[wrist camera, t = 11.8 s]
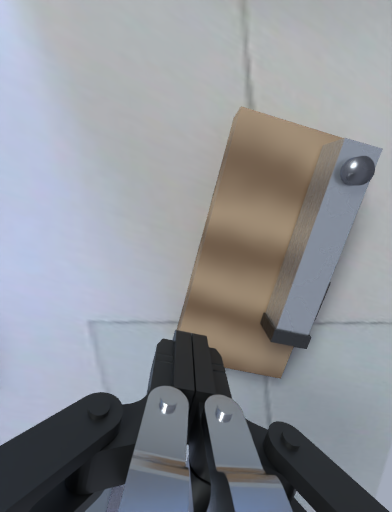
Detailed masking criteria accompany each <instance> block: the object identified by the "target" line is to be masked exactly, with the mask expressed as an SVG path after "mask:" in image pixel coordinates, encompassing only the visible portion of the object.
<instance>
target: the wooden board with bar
mask: <svg viewBox="0 0 392 512" xmlns="http://www.w3.org/2000/svg"><path fill="white" fill-rule="evenodd" d="M340 139H343V138H341V137H338V136H334V135H331V134H328V133H325V132H322V131H318V130H315V129H312V128H309V127H306V126H302V125H299V124H296V123H293V122H289V121H286V120H283V119H280V118H277V117H273V116H270V115H267V114H264V113H261V112H257V111H254V110H251V109H248V108H245V107H240V109H239V110H238V112H237V114H236V115H235V117H234V119H233V123H232V127H231V131H230V134H229V138H228V142H227V145H226V149H225V153H224V157H223V160H222V164H221V168H220V171H219V175H218V179H217V183H216V186H215V190H214V194H213V197H212V201H211V205H210V209H209V212H208V216H207V220H206V223H205V227H204V231H203V234H202V238H201V242H200V246H199V249H198V253H197V257H196V260H195V264H194V268H193V272H192V275H191V279H190V283H189V286H188V290H187V294H186V298H185V301H184V305H183V309H182V312H181V316H180V320H179V324H178V327H177V330H180V331H185V332H190V333H195V334H200V335H205V336H207V340H208V345H209V347H210V348H215V349H216V350H217V351H218V352H219V354H220V355H221V356H222V360H223V364H224V367H225V368H230V369H235V370H240V371H245V372H250V373H255V374H260V375H265V376H270V377H275V378H281V376H282V374H283V371H284V369H285V366H286V364H287V362H288V359H289V357H290V354H291V352H292V349H293V347H294V346H288V345H283V344H278V343H273V342H270V340H269V338H268V337H267V335H266V333H265V331H264V329H263V328H262V326H261V324H260V322H261V319H262V316H263V313H266V310H267V307H268V304H269V301H270V298H271V295H272V292H273V289H274V286H275V284H276V281H277V278H278V275H279V272H280V269H281V266H282V263H283V260H284V257H285V254H286V251H287V248H288V245H289V243H290V240H291V237H292V234H293V231H294V228H295V225H296V222H297V219H298V216H299V213H300V210H301V207H302V205H303V202H304V199H305V196H306V193H307V190H308V187H309V184H310V181H311V178H312V175H313V172H314V169H315V166H316V164H317V161H318V158H319V155H320V152H321V149H322V146H323V145H325V144H328V143H331V142H334V141H337V140H340ZM329 286H330V282H329V284H328V287H327V290H328V288H329ZM327 290H326V292H325V295H326V293H327ZM325 295H324V297H323V300H324V298H325ZM323 300H322V302H323ZM322 302H321V305H322ZM321 305H320V307H321ZM320 307H319V310H320ZM319 310H318V312H319ZM318 312H317V314H318ZM316 317H317V315H316ZM316 317H315V319H316ZM314 321H315V320H314Z"/></svg>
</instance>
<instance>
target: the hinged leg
mask: <svg viewBox="0 0 392 512" xmlns="http://www.w3.org/2000/svg"><path fill="white" fill-rule="evenodd" d="M381 152H382V148H378V147H375V146H371V145H368V144H364V143H361V142H357V141H354V140H351V139H347V138H343V139H340V140H337V141H334V142H331V143H328V144H325V145H323V146H322V149H321V152H320V155H319V158H318V161H317V164H316V166H315V169H314V172H313V175H312V178H311V181H310V184H309V187H308V190H307V193H306V196H305V199H304V202H303V205H302V207H301V210H300V213H299V216H298V219H297V222H296V225H295V228H294V231H293V234H292V237H291V240H290V243H289V245H288V248H287V251H286V254H285V257H284V260H283V263H282V266H281V269H280V272H279V275H278V278H277V281H276V284H275V286H274V289H273V292H272V295H271V298H270V301H269V304H268V307H267V310H266V313H263V316H262V319H261V322H260V324H261V326H262V328H263V329H264V331H265V333H266V335H267V337H268V338H269V340H270V342H273V343H278V344H283V345H288V346H294V347H299V348H304V349H307V347H308V344H309V342H310V339H311V336H310V335H309V332H310V330H311V327H312V325H313V322H314V320H315V317H316V315H317V312H318V310H319V307H320V305H321V302H322V300H323V297H324V295H325V292H326V290H327V287H328V284H329V282H330V279H331V277H332V274H333V272H334V269H335V267H336V264H337V262H338V259H339V257H340V254H341V252H342V249H343V247H344V244H345V242H346V239H347V237H348V234H349V232H350V229H351V227H352V224H353V222H354V219H355V217H356V214H357V212H358V209H359V207H360V204H361V202H362V199H363V197H364V194H365V192H366V189H367V187H368V184H369V182H370V180H371V178H372V177H373V175H374V172H375V167H376V164H377V162H378V159H379V157H380V154H381Z"/></svg>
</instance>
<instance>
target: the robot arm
mask: <svg viewBox="0 0 392 512" xmlns="http://www.w3.org/2000/svg"><path fill="white" fill-rule="evenodd" d="M186 445H189V455H188V458H187V461H186ZM123 484H125V486H124V490H123V494H122V498H121V502H120V505H119V509H118V512H188V511H189V512H307V511H306V510H305V509H304V508H303V507H302V506H301V505H300V504H299V503H298V501H297V500H296V499H295V498H294V495H295V493H296V491H298V492H299V494H300V495H301V496H302V497H303V498H304V499H305V500H306V501H307V502H308V503H309V504H310V505H311V507H312V508H313V509H314V510H315V511H316V512H389V511H388V510H387V509H386V508H385V507H384V506H382V505H381V504H380V503H379V502H378V501H377V500H376V499H375V498H373V497H372V496H371V495H370V494H369V493H368V492H367V491H366V490H365V489H363V488H362V487H361V486H360V485H359V484H358V483H357V482H356V481H354V480H353V479H352V478H351V477H350V476H349V475H348V474H347V473H346V472H344V471H343V470H342V469H341V468H340V467H339V466H338V465H337V464H335V463H334V462H333V461H332V460H331V459H330V458H329V457H328V456H326V455H325V454H324V453H323V452H322V451H321V450H320V449H319V448H318V447H316V446H315V445H314V444H313V443H312V442H311V441H310V440H309V439H307V438H306V437H305V436H304V435H303V434H302V433H301V432H300V431H298V430H297V429H296V428H295V427H293V426H291V425H289V424H287V423H284V422H273V423H272V424H271V425H270V426H269V429H268V430H267V429H265V428H263V427H261V426H258V425H256V424H254V423H252V422H250V421H248V420H247V419H245V417H244V414H243V411H242V409H241V408H240V406H239V405H238V404H237V403H236V402H235V401H234V400H232V397H231V393H230V389H229V385H228V381H227V376H226V374H225V368H224V364H223V360H222V356H221V355H220V354H219V352H218V351H217V350H216V349H215V348H210V347H209V345H208V340H207V336H205V335H200V334H195V333H190V332H185V331H180V330H175V333H174V337H173V340H168V339H162V340H161V341H160V342H159V343H158V344H157V348H156V352H155V356H154V360H153V364H152V368H151V372H150V378H149V384H148V390H147V395H146V396H145V397H144V398H143V399H141V400H140V401H138V402H135V403H131V404H124V405H122V404H121V402H120V400H119V399H118V398H117V397H116V396H114V395H112V394H109V393H103V392H100V393H93V394H90V395H88V396H86V397H84V398H82V399H81V400H79V401H77V402H75V403H74V404H72V405H70V406H68V407H67V408H65V409H63V410H61V411H60V412H58V413H56V414H55V415H53V416H51V417H49V418H48V419H46V420H44V421H42V422H41V423H39V424H37V425H36V426H34V427H32V428H30V429H29V430H27V431H25V432H23V433H22V434H20V435H18V436H16V437H15V438H13V439H11V440H10V441H8V442H6V443H4V444H3V445H1V446H0V512H106V511H107V508H108V504H109V500H110V496H111V491H112V487H116V486H119V485H123Z"/></svg>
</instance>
